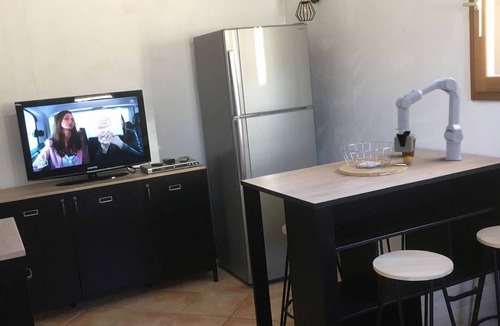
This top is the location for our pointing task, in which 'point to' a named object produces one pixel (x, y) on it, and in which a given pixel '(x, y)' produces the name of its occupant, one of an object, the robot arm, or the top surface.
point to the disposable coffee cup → (413, 148)
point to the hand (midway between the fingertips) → (403, 145)
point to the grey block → (407, 147)
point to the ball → (407, 160)
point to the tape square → (404, 163)
